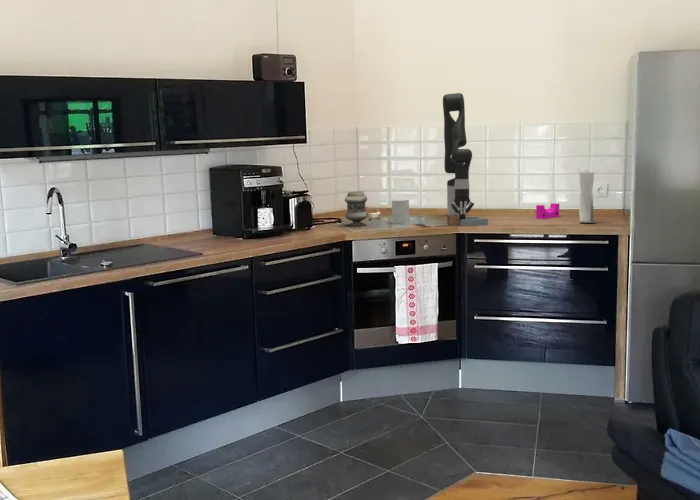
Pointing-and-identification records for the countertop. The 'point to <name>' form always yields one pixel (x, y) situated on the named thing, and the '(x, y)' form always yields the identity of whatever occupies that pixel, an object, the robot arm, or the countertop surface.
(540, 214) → the toy block
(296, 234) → the countertop surface
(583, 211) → the skyscraper
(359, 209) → the apothecary jar
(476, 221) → the grey flat slab
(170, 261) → the countertop surface
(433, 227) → the trap pit
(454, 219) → the walnut cube
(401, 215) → the supplement box
